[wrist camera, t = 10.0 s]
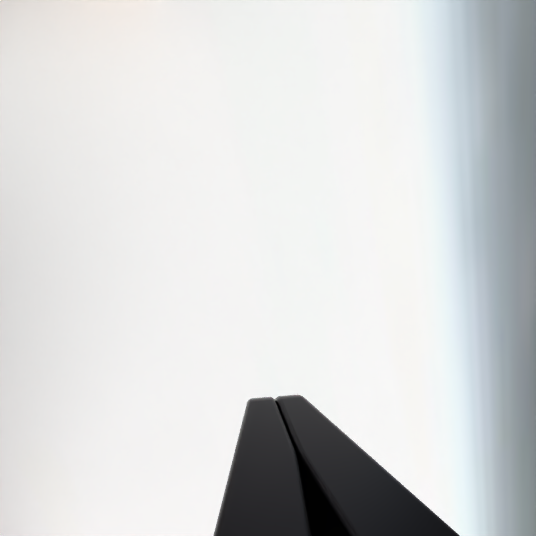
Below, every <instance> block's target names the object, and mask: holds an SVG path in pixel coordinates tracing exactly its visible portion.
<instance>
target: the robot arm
mask: <svg viewBox="0 0 536 536" xmlns="http://www.w3.org/2000/svg"><path fill="white" fill-rule="evenodd" d="M214 536H459V535H458V534H457V533H456V532H455V531H454V530H453V529H451V528H450V527H449V526H448V525H447V524H446V523H445V522H444V521H442V520H441V519H440V518H439V517H438V516H437V515H436V514H435V513H433V512H432V511H431V510H430V509H429V508H428V507H427V506H426V505H424V504H423V503H422V502H421V501H420V500H419V499H418V498H417V497H415V496H414V495H413V494H412V493H411V492H410V491H409V490H408V489H406V488H405V487H404V486H403V485H402V484H401V483H400V482H399V481H397V480H396V479H395V478H394V477H393V476H392V475H391V474H390V473H388V472H387V471H386V470H385V469H384V468H383V467H382V466H381V465H379V464H378V463H377V462H376V461H375V460H374V459H373V458H372V457H370V456H369V455H368V454H367V453H366V452H365V451H364V450H363V449H361V448H360V447H359V446H358V445H357V444H356V443H355V442H353V441H352V440H351V439H350V438H349V437H348V436H347V435H346V434H344V433H343V432H342V431H341V430H340V429H339V428H338V427H337V426H335V425H334V424H333V423H332V422H331V421H330V420H329V419H328V418H326V417H325V416H324V415H323V414H322V413H321V412H320V411H319V410H317V409H316V408H315V407H314V406H313V405H312V404H311V403H310V402H308V401H307V400H306V399H305V398H304V397H303V396H300V395H289V396H279V397H277V398H276V399H273V398H272V397H264V398H252V399H250V400H249V401H248V402H247V406H246V410H245V414H244V418H243V422H242V425H241V429H240V433H239V437H238V441H237V445H236V449H235V453H234V457H233V461H232V465H231V469H230V473H229V477H228V481H227V485H226V489H225V493H224V497H223V501H222V505H221V509H220V512H219V516H218V520H217V524H216V528H215V532H214Z"/></svg>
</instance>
